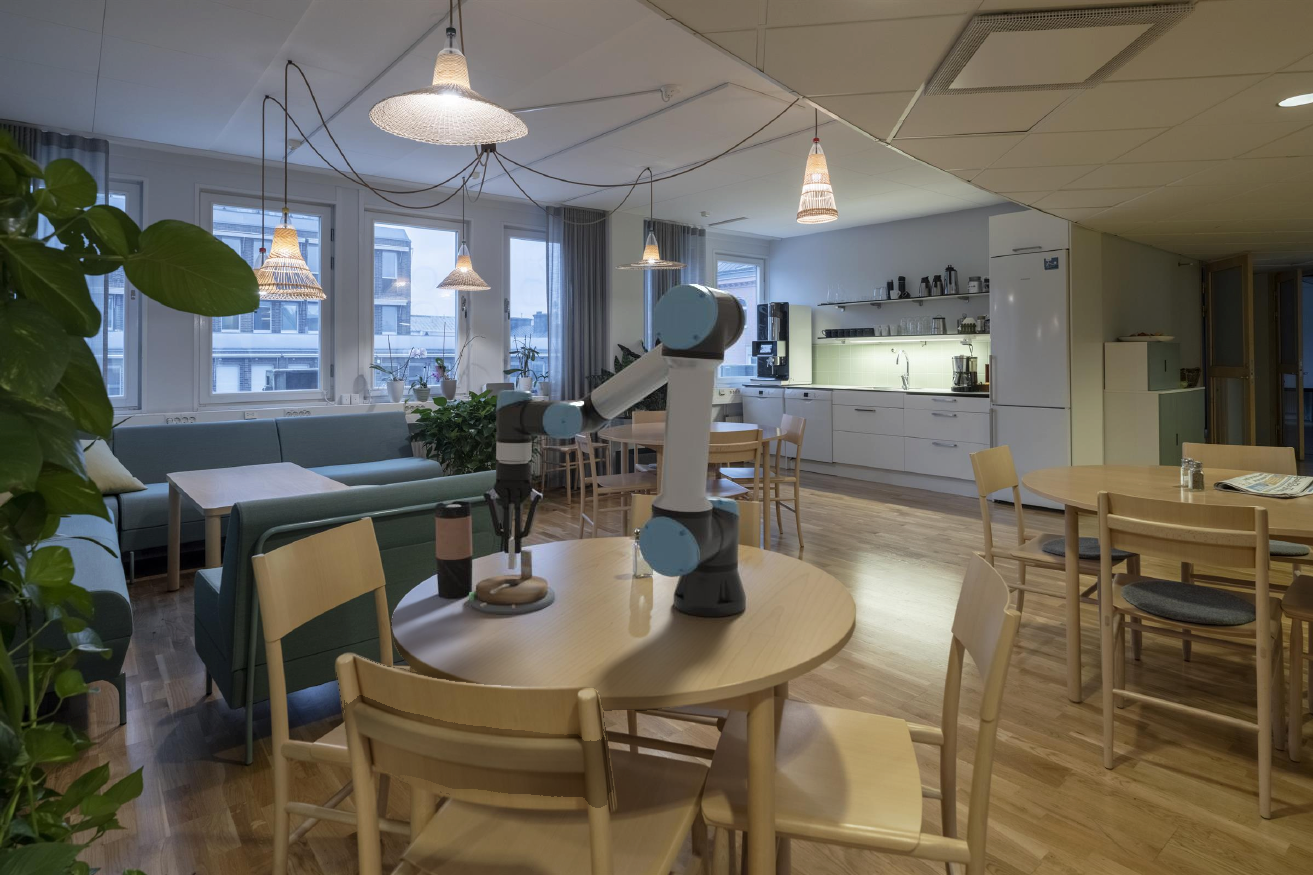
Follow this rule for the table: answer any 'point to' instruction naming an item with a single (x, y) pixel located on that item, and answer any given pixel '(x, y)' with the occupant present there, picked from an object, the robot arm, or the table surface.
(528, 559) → the dial
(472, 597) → the gauge plate
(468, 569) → the travel mug
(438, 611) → the table surface
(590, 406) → the robot arm
